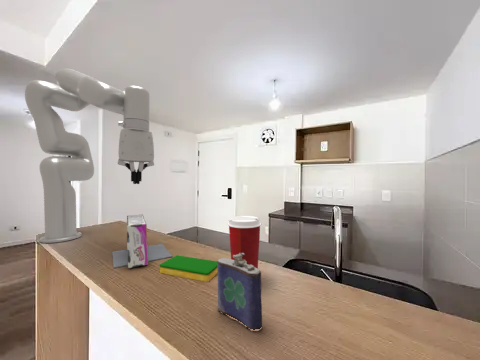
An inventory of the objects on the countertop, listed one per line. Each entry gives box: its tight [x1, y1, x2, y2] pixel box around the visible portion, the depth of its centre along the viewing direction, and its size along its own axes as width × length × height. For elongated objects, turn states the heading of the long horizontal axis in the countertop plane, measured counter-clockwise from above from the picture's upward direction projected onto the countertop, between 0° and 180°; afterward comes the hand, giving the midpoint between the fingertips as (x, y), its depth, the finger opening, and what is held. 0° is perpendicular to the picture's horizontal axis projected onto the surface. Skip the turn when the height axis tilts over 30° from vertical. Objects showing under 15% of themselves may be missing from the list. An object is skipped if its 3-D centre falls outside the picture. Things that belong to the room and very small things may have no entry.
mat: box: [111, 243, 173, 269], centre depth 67 cm, size 14×15×1 cm
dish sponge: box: [159, 254, 218, 283], centre depth 55 cm, size 7×14×2 cm, turn 68°
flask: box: [216, 253, 263, 330], centre depth 37 cm, size 9×3×11 cm, turn 48°
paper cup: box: [226, 215, 262, 269], centre depth 50 cm, size 8×8×14 cm
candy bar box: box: [126, 214, 149, 269], centre depth 64 cm, size 11×5×16 cm
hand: (136, 183), depth 72 cm, fingers closed
